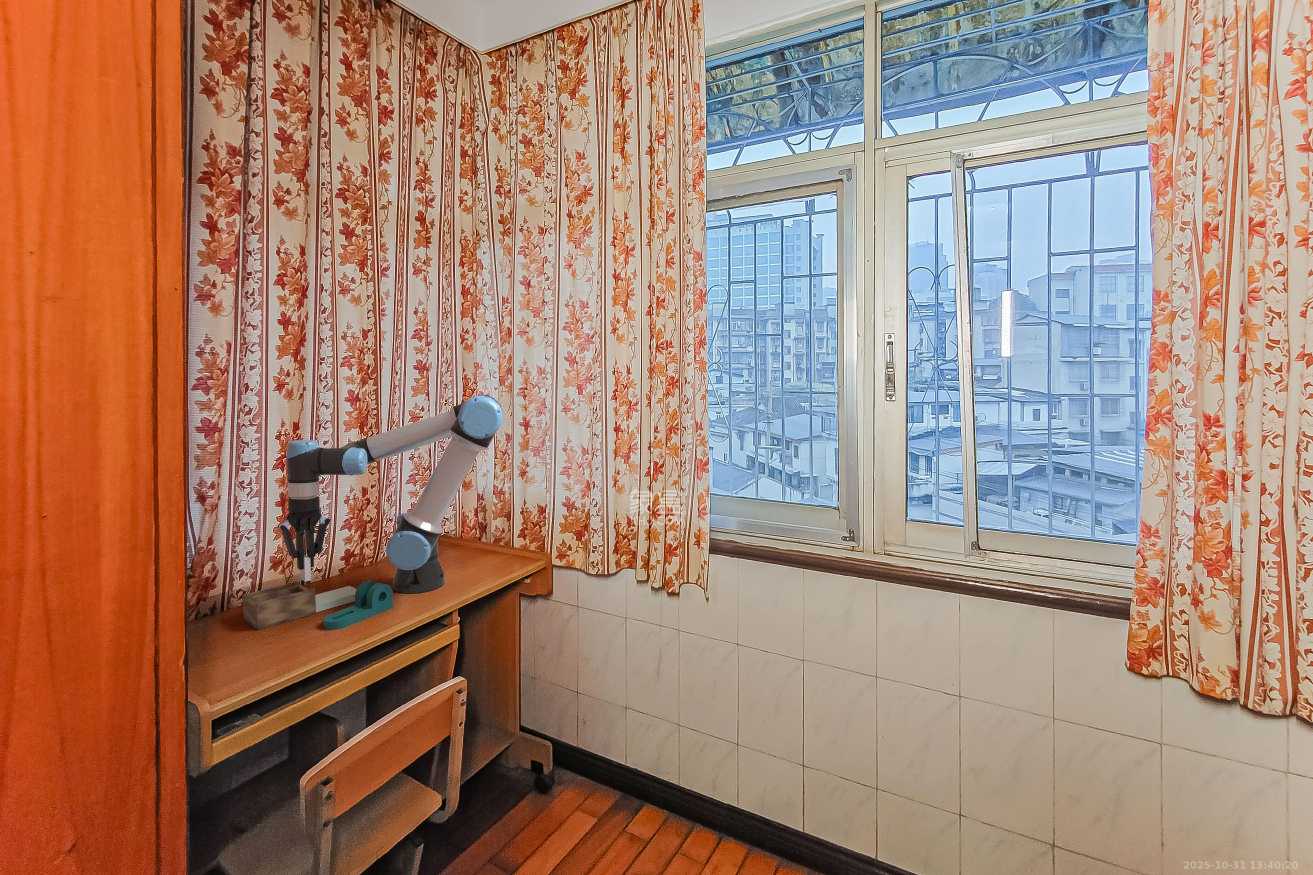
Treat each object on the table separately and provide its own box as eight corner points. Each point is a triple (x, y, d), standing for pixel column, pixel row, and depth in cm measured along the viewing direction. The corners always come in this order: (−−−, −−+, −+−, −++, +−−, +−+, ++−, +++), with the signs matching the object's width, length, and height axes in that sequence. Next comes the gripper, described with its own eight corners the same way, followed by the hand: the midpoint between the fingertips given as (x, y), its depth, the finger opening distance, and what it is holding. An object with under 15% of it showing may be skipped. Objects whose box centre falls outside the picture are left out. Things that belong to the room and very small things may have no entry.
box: (300, 604, 170) (299, 580, 170) (316, 613, 164) (314, 588, 164) (243, 620, 159) (242, 594, 159) (258, 630, 153) (256, 603, 153)
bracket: (376, 604, 172) (375, 577, 171) (393, 608, 169) (392, 581, 168) (317, 627, 156) (316, 598, 155) (335, 632, 153) (333, 602, 152)
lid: (349, 593, 181) (349, 585, 180) (363, 600, 176) (362, 591, 175) (303, 606, 170) (303, 598, 170) (316, 613, 165) (315, 605, 165)
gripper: (323, 491, 172) (324, 571, 174) (272, 497, 162) (274, 582, 164) (334, 495, 167) (336, 577, 170) (282, 501, 157) (285, 588, 159)
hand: (306, 579), depth 167 cm, fingers closed
